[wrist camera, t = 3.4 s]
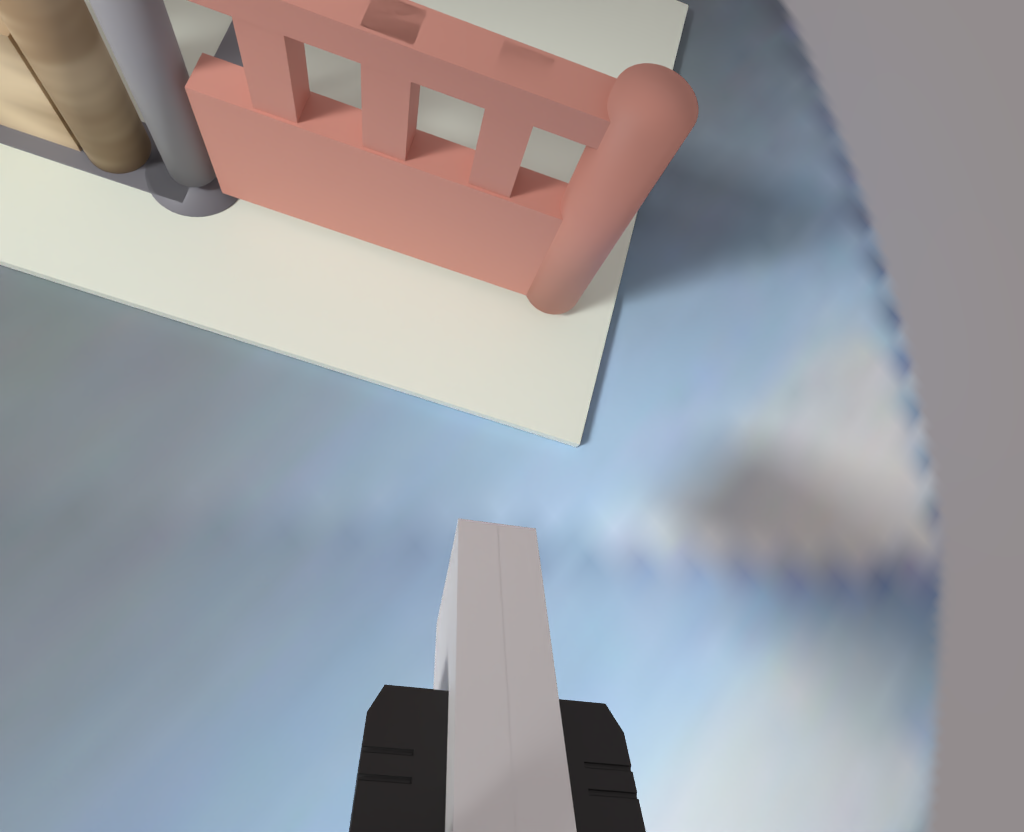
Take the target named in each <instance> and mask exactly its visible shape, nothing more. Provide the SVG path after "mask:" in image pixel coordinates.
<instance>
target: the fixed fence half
mask: <svg viewBox="0 0 1024 832" xmlns="http://www.w3.org/2000/svg"><path fill="white" fill-rule="evenodd" d="M0 125H3V126H6V127H9V128H12V129H15V130H18V131H21V132H24V133H27V134H30V135H33V136H36V137H39V138H42V139H45V140H48V141H51V142H54V143H56V144H59V145H62V146H65V147H68V148H71V149H74V150H77V151H80V152H81V150H82V148H83V150H84V152H85V153H86V155H87V156H88V158H89V160H90V161H91V162H92V163H93V164H94V165H95V166H96V167H97V168H99V169H101V170H103V171H105V172H109V173H114V174H123V173H129V172H132V171H134V170H136V169H138V168H140V167H141V166H142V165H144V164H145V163H146V161H147V160H148V158H149V156H150V154H151V142H150V139H149V137H148V135H147V132H146V130H145V128H144V126H143V124H142V122H141V120H140V118H139V115H138V113H137V111H136V109H135V107H134V105H133V103H132V101H131V99H130V96H129V94H128V92H127V90H126V88H125V86H124V84H123V82H122V79H121V77H120V75H119V73H118V71H117V69H116V67H115V65H114V62H113V60H112V58H111V56H110V54H109V52H108V50H107V48H106V45H105V43H104V41H103V39H102V37H101V35H100V33H99V31H98V29H97V26H96V24H95V22H94V20H93V18H92V16H91V14H90V12H89V9H88V7H87V5H86V3H85V1H84V0H0Z"/></svg>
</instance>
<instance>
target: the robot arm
mask: <svg viewBox="0 0 1024 832" xmlns="http://www.w3.org/2000/svg"><path fill="white" fill-rule="evenodd" d="M349 832H646V831H645V826H644V822H643V817H642V813H641V808H640V804H639V799H637V790H636V786H635V781H634V777H633V772H631V763H630V758H629V754H628V749H627V745H626V740H625V736H624V732H623V731H622V729H621V728H620V726H619V725H618V723H617V721H616V720H615V718H614V717H613V715H612V713H611V712H610V710H609V709H608V707H607V706H606V704H603V703H592V702H582V701H571V700H561V699H559V698H558V690H557V683H556V675H555V668H554V661H553V653H552V646H551V639H550V631H549V624H548V616H547V609H546V602H545V594H544V587H543V580H542V572H541V565H540V558H539V550H538V543H537V535H536V529H535V528H527V527H519V526H512V525H504V524H496V523H488V522H481V521H473V520H465V519H458V523H457V528H456V533H455V538H454V543H453V548H452V552H451V557H450V562H449V567H448V572H447V577H446V581H445V586H444V591H443V596H442V601H441V606H440V610H439V615H438V620H437V629H436V648H435V668H434V688H433V689H425V688H414V687H404V686H393V685H384V687H383V688H382V690H381V691H380V693H379V695H378V696H377V698H376V699H375V701H374V702H373V704H372V705H371V707H370V708H369V710H368V711H367V716H366V722H365V729H364V735H363V741H362V748H361V754H360V760H359V767H358V773H357V780H356V787H355V794H354V800H353V807H352V814H351V821H350V828H349Z"/></svg>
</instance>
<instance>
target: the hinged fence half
mask: <svg viewBox="0 0 1024 832" xmlns="http://www.w3.org/2000/svg"><path fill="white" fill-rule="evenodd" d="M188 1H190V2H193V3H196V4H198V5H201V6H204V7H207V8H209V9H212V10H215V11H218V12H220V13H223V14H226V15H229V16H231V17H232V20H233V25H234V29H235V33H236V37H237V41H238V46H239V50H240V54H241V58H242V63H243V67H241V66H239V65H236V64H233V63H230V62H227V61H225V60H222V59H219V58H216V57H213V56H211V55H208V54H205V53H202V54H201V56H200V58H199V60H198V62H197V64H196V66H195V68H194V70H193V72H192V74H191V76H190V77H189V74H188V71H187V68H186V65H185V62H184V59H183V57H182V54H181V51H180V48H179V45H178V42H177V39H176V36H175V33H174V30H173V27H172V24H171V21H170V19H169V16H168V13H167V10H166V7H165V4H164V1H163V0H89V2H90V4H91V6H92V8H93V10H94V13H95V15H96V17H97V19H98V21H99V23H100V26H101V28H102V30H103V32H104V34H105V36H106V38H107V41H108V43H109V45H110V47H111V49H112V51H113V54H114V56H115V58H116V60H117V62H118V64H119V66H120V69H121V71H122V73H123V75H124V77H125V79H126V82H127V84H128V86H129V88H130V90H131V92H132V94H133V97H134V99H135V101H136V103H137V105H138V107H139V110H140V112H141V114H142V116H143V118H144V120H145V123H146V125H147V127H148V129H149V131H150V133H151V135H152V138H153V140H154V142H155V144H156V146H157V148H158V151H159V153H160V155H161V157H162V159H163V161H164V163H165V166H166V168H167V170H168V172H169V174H170V176H171V177H172V178H173V179H174V180H175V181H176V182H177V183H179V184H181V185H183V186H187V187H201V186H204V185H206V184H208V183H210V182H211V181H212V180H213V179H214V178H215V177H217V179H218V182H219V185H220V188H221V191H222V193H224V194H227V195H230V196H233V197H236V198H239V199H242V200H245V201H248V202H251V203H254V204H257V205H260V206H263V207H265V208H268V209H271V210H274V211H277V212H280V213H283V214H286V215H289V216H292V217H295V218H298V219H301V220H304V221H307V222H310V223H313V224H316V225H319V226H322V227H325V228H328V229H331V230H334V231H337V232H340V233H342V234H345V235H348V236H351V237H354V238H357V239H360V240H363V241H366V242H369V243H372V244H375V245H378V246H381V247H384V248H387V249H390V250H393V251H396V252H399V253H402V254H405V255H408V256H411V257H414V258H417V259H419V260H422V261H425V262H428V263H431V264H434V265H437V266H440V267H443V268H446V269H449V270H452V271H455V272H458V273H461V274H464V275H467V276H470V277H473V278H476V279H479V280H482V281H485V282H488V283H491V284H494V285H496V286H499V287H502V288H505V289H508V290H511V291H514V292H517V293H520V294H523V295H526V296H527V298H528V300H529V301H530V303H531V304H532V305H533V306H534V307H535V308H537V309H538V310H540V311H542V312H544V313H547V314H553V315H557V314H562V313H565V312H567V311H569V310H571V309H572V308H573V307H574V306H575V304H576V303H577V302H578V300H579V299H580V297H581V296H582V294H583V293H584V291H585V290H586V288H587V287H588V285H589V283H590V282H591V280H592V279H593V277H594V276H595V274H596V273H597V271H598V270H599V268H600V267H601V265H602V264H603V262H604V261H605V259H606V258H607V256H608V255H609V253H610V252H611V250H612V249H613V247H614V246H615V244H616V243H617V241H618V240H619V238H620V237H621V235H622V234H623V232H624V231H625V229H626V228H627V226H628V225H629V223H630V222H631V220H632V219H633V217H634V216H635V214H636V213H637V211H638V210H639V208H640V207H641V205H642V204H643V202H644V201H645V199H646V197H647V196H648V194H649V193H650V191H651V190H652V188H653V187H654V185H655V184H656V182H657V181H658V179H659V178H660V176H661V175H662V173H663V172H664V170H665V169H666V167H667V166H668V164H669V163H670V161H671V160H672V158H673V157H674V155H675V154H676V152H677V151H678V149H679V148H680V146H681V145H682V143H683V142H684V140H685V139H686V137H687V136H688V134H689V133H690V131H691V130H692V128H693V127H694V125H695V123H696V121H697V117H698V102H697V98H696V96H695V93H694V91H693V90H692V88H691V86H690V85H689V84H688V83H687V81H686V80H685V79H684V78H683V77H681V76H680V75H679V74H678V73H676V72H675V71H673V70H671V69H669V68H667V67H665V66H662V65H658V64H652V63H642V64H636V65H633V66H631V67H628V68H627V69H625V70H624V71H623V72H622V73H621V74H620V75H619V76H618V78H614V77H612V76H609V75H606V74H604V73H601V72H599V71H596V70H593V69H591V68H588V67H585V66H583V65H580V64H577V63H575V62H572V61H569V60H567V59H564V58H561V57H559V56H556V55H553V54H551V53H548V52H545V51H543V50H540V49H537V48H535V47H532V46H529V45H527V44H524V43H521V42H519V41H516V40H513V39H511V38H508V37H505V36H503V35H500V34H498V33H495V32H492V31H490V30H487V29H484V28H482V27H479V26H476V25H474V24H471V23H468V22H466V21H463V20H460V19H458V18H455V17H452V16H450V15H447V14H444V13H442V12H439V11H436V10H434V9H431V8H428V7H426V6H423V5H420V4H418V3H415V2H412V1H410V0H188ZM304 43H306V44H308V45H311V46H314V47H317V48H319V49H322V50H325V51H328V52H330V53H333V54H336V55H339V56H341V57H344V58H347V59H350V60H352V61H355V62H358V63H361V105H362V109H359V108H356V107H353V106H351V105H348V104H345V103H342V102H339V101H337V100H334V99H331V98H328V97H325V96H323V95H320V94H317V93H314V92H311V91H310V89H309V80H308V72H307V64H306V55H305V47H304ZM420 85H421V86H424V87H427V88H429V89H432V90H435V91H438V92H440V93H443V94H446V95H448V96H451V97H454V98H457V99H459V100H462V101H465V102H468V103H470V104H473V105H476V106H479V107H481V108H484V109H485V110H484V115H483V119H482V124H481V128H480V132H479V137H478V141H477V146H476V150H474V149H471V148H468V147H465V146H463V145H460V144H457V143H454V142H451V141H449V140H446V139H443V138H440V137H437V136H435V135H432V134H429V133H426V132H423V131H421V130H418V129H416V127H417V116H418V105H419V95H420ZM533 126H534V127H536V128H539V129H542V130H545V131H547V132H550V133H553V134H556V135H558V136H561V137H564V138H567V139H569V140H572V141H575V142H578V143H580V144H583V145H586V147H585V149H584V151H583V153H582V155H581V157H580V160H579V162H578V164H577V166H576V168H575V170H574V173H573V175H572V177H571V179H570V181H569V183H566V182H563V181H561V180H558V179H555V178H552V177H549V176H547V175H544V174H541V173H538V172H535V171H533V170H530V169H527V168H524V167H521V166H520V165H521V162H522V159H523V156H524V153H525V150H526V147H527V144H528V141H529V138H530V135H531V132H532V129H533Z"/></svg>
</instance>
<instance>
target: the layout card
mask: <svg viewBox="0 0 1024 832" xmlns="http://www.w3.org/2000/svg"><path fill="white" fill-rule="evenodd" d="M84 1H85V3H86V5H87V7H88V9H89V12H90V14H91V16H92V18H93V20H94V22H95V24H96V26H97V29H98V31H99V33H100V35H101V37H102V39H103V41H104V43H105V45H106V48H107V50H108V52H109V54H110V56H111V58H112V60H113V62H114V65H115V67H116V69H117V71H118V73H119V75H120V77H121V79H122V82H123V84H124V86H125V88H126V90H127V92H128V94H129V96H130V99H131V101H132V103H133V105H134V107H135V109H136V111H137V113H138V115H139V118H140V120H141V122H142V124H143V126H144V128H145V130H146V132H147V135H148V137H149V139H150V142H151V154H150V156H149V158H148V160H147V161H146V163H145V164H144V165H142V166H141V167H140V168H138V169H136V170H134V171H132V172H129V173H123V174H114V173H109V172H105V171H103V170H101V169H99V168H97V167H96V166H95V165H94V164H93V163H92V162H91V161H90V160H89V158H88V156H87V155H86V153H85V152H84V150H83V148H82V150H81V152H80V151H77V150H74V149H71V148H68V147H65V146H62V145H59V144H56V143H54V142H51V141H48V140H45V139H42V138H39V137H36V136H33V135H30V134H27V133H24V132H21V131H18V130H15V129H12V128H9V127H6V126H3V125H0V265H3V266H6V267H9V268H12V269H15V270H18V271H22V272H25V273H28V274H31V275H34V276H37V277H41V278H44V279H47V280H50V281H53V282H56V283H59V284H63V285H66V286H69V287H72V288H75V289H78V290H82V291H85V292H88V293H91V294H94V295H97V296H100V297H104V298H107V299H110V300H113V301H116V302H119V303H123V304H126V305H129V306H132V307H135V308H138V309H142V310H145V311H148V312H151V313H154V314H157V315H160V316H164V317H167V318H170V319H173V320H176V321H179V322H183V323H186V324H189V325H192V326H195V327H198V328H201V329H205V330H208V331H211V332H214V333H217V334H220V335H224V336H227V337H230V338H233V339H236V340H239V341H243V342H246V343H249V344H252V345H255V346H258V347H261V348H265V349H268V350H271V351H274V352H277V353H280V354H284V355H287V356H290V357H293V358H296V359H299V360H302V361H306V362H309V363H312V364H315V365H318V366H321V367H325V368H328V369H331V370H334V371H337V372H340V373H344V374H347V375H350V376H353V377H356V378H359V379H362V380H366V381H369V382H372V383H375V384H378V385H381V386H385V387H388V388H391V389H394V390H397V391H400V392H403V393H407V394H410V395H413V396H416V397H419V398H422V399H426V400H429V401H432V402H435V403H438V404H441V405H445V406H448V407H451V408H454V409H457V410H460V411H463V412H467V413H470V414H473V415H476V416H479V417H482V418H486V419H489V420H492V421H495V422H498V423H501V424H504V425H508V426H511V427H514V428H517V429H520V430H523V431H527V432H530V433H533V434H536V435H539V436H542V437H546V438H549V439H552V440H555V441H558V442H561V443H564V444H568V445H571V446H574V447H578V446H579V445H580V442H581V438H582V433H583V429H584V425H585V421H586V417H587V413H588V409H589V405H590V401H591V397H592V393H593V389H594V385H595V381H596V377H597V373H598V369H599V365H600V361H601V357H602V353H603V349H604V345H605V341H606V337H607V333H608V329H609V325H610V321H611V317H612V312H613V308H614V304H615V300H616V296H617V292H618V288H619V284H620V280H621V276H622V272H623V268H624V264H625V260H626V256H627V252H628V248H629V244H630V240H631V236H632V232H633V228H634V224H635V220H636V216H637V213H636V214H635V216H634V217H633V219H632V220H631V222H630V223H629V225H628V226H627V228H626V229H625V231H624V232H623V234H622V235H621V237H620V238H619V240H618V241H617V243H616V244H615V246H614V247H613V249H612V250H611V252H610V253H609V255H608V256H607V258H606V259H605V261H604V262H603V264H602V265H601V267H600V268H599V270H598V271H597V273H596V274H595V276H594V277H593V279H592V280H591V282H590V283H589V285H588V287H587V288H586V290H585V291H584V293H583V294H582V296H581V297H580V299H579V300H578V302H577V303H576V304H575V306H574V307H573V308H572V309H571V310H569V311H567V312H565V313H562V314H557V315H553V314H547V313H544V312H542V311H540V310H538V309H537V308H535V307H534V306H533V305H532V304H531V303H530V301H529V300H528V298H527V296H526V295H523V294H520V293H517V292H514V291H511V290H508V289H505V288H502V287H499V286H496V285H494V284H491V283H488V282H485V281H482V280H479V279H476V278H473V277H470V276H467V275H464V274H461V273H458V272H455V271H452V270H449V269H446V268H443V267H440V266H437V265H434V264H431V263H428V262H425V261H422V260H419V259H417V258H414V257H411V256H408V255H405V254H402V253H399V252H396V251H393V250H390V249H387V248H384V247H381V246H378V245H375V244H372V243H369V242H366V241H363V240H360V239H357V238H354V237H351V236H348V235H345V234H342V233H340V232H337V231H334V230H331V229H328V228H325V227H322V226H319V225H316V224H313V223H310V222H307V221H304V220H301V219H298V218H295V217H292V216H289V215H286V214H283V213H280V212H277V211H274V210H271V209H268V208H265V207H263V206H260V205H257V204H254V203H251V202H248V201H245V200H242V199H239V198H236V197H233V196H230V195H227V194H224V193H222V191H221V188H220V185H219V182H218V179H217V177H215V178H214V179H213V180H212V181H211V182H210V183H208V184H206V185H204V186H201V187H187V186H183V185H181V184H179V183H177V182H176V181H175V180H174V179H173V178H172V177H171V176H170V174H169V172H168V170H167V168H166V166H165V163H164V161H163V159H162V157H161V155H160V153H159V151H158V148H157V146H156V144H155V142H154V140H153V138H152V135H151V133H150V131H149V129H148V127H147V125H146V123H145V120H144V118H143V116H142V114H141V112H140V110H139V107H138V105H137V103H136V101H135V99H134V97H133V94H132V92H131V90H130V88H129V86H128V84H127V82H126V79H125V77H124V75H123V73H122V71H121V69H120V66H119V64H118V62H117V60H116V58H115V56H114V54H113V51H112V49H111V47H110V45H109V43H108V41H107V38H106V36H105V34H104V32H103V30H102V28H101V26H100V23H99V21H98V19H97V17H96V15H95V13H94V10H93V8H92V6H91V4H90V2H89V0H84ZM163 1H164V4H165V7H166V10H167V13H168V16H169V19H170V21H171V24H172V27H173V30H174V33H175V36H176V39H177V42H178V45H179V48H180V51H181V54H182V57H183V59H184V62H185V65H186V68H187V71H188V74H189V77H190V76H191V74H192V72H193V70H194V68H195V66H196V64H197V62H198V60H199V58H200V56H201V54H202V53H205V54H208V55H211V56H213V57H216V58H219V59H222V60H225V61H227V62H230V63H233V64H236V65H239V66H241V67H243V63H242V58H241V54H240V50H239V46H238V41H237V37H236V33H235V29H234V25H233V20H232V17H231V16H229V15H226V14H223V13H220V12H218V11H215V10H212V9H209V8H207V7H204V6H201V5H198V4H196V3H193V2H190V1H188V0H163ZM410 1H412V2H415V3H418V4H420V5H423V6H426V7H428V8H431V9H434V10H436V11H439V12H442V13H444V14H447V15H450V16H452V17H455V18H458V19H460V20H463V21H466V22H468V23H471V24H474V25H476V26H479V27H482V28H484V29H487V30H490V31H492V32H495V33H498V34H500V35H503V36H505V37H508V38H511V39H513V40H516V41H519V42H521V43H524V44H527V45H529V46H532V47H535V48H537V49H540V50H543V51H545V52H548V53H551V54H553V55H556V56H559V57H561V58H564V59H567V60H569V61H572V62H575V63H577V64H580V65H583V66H585V67H588V68H591V69H593V70H596V71H599V72H601V73H604V74H606V75H609V76H612V77H614V78H618V76H619V75H620V74H621V73H622V72H623V71H624V70H625V69H627V68H628V67H631V66H633V65H636V64H642V63H652V64H658V65H662V66H665V67H667V68H669V69H671V70H673V66H674V62H675V58H676V54H677V50H678V46H679V42H680V38H681V34H682V30H683V26H684V22H685V18H686V14H687V10H688V6H689V5H687V4H684V3H682V2H679V1H677V0H410ZM304 47H305V55H306V64H307V72H308V80H309V89H310V91H311V92H314V93H317V94H320V95H323V96H325V97H328V98H331V99H334V100H337V101H339V102H342V103H345V104H348V105H351V106H353V107H356V108H359V109H362V105H361V63H358V62H355V61H352V60H350V59H347V58H344V57H341V56H339V55H336V54H333V53H330V52H328V51H325V50H322V49H319V48H317V47H314V46H311V45H308V44H306V43H304ZM484 110H485V109H484V108H481V107H479V106H476V105H473V104H470V103H468V102H465V101H462V100H459V99H457V98H454V97H451V96H448V95H446V94H443V93H440V92H438V91H435V90H432V89H429V88H427V87H424V86H421V85H420V95H419V105H418V116H417V127H416V129H418V130H421V131H423V132H426V133H429V134H432V135H435V136H437V137H440V138H443V139H446V140H449V141H451V142H454V143H457V144H460V145H463V146H465V147H468V148H471V149H474V150H476V146H477V141H478V137H479V132H480V128H481V124H482V119H483V115H484ZM585 147H586V145H583V144H580V143H578V142H575V141H572V140H569V139H567V138H564V137H561V136H558V135H556V134H553V133H550V132H547V131H545V130H542V129H539V128H536V127H534V126H533V129H532V132H531V135H530V138H529V141H528V144H527V147H526V150H525V153H524V156H523V159H522V162H521V165H520V166H521V167H524V168H527V169H530V170H533V171H535V172H538V173H541V174H544V175H547V176H549V177H552V178H555V179H558V180H561V181H563V182H566V183H569V181H570V179H571V177H572V175H573V173H574V170H575V168H576V166H577V164H578V162H579V160H580V157H581V155H582V153H583V151H584V149H585ZM637 212H638V211H637Z"/></svg>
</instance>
